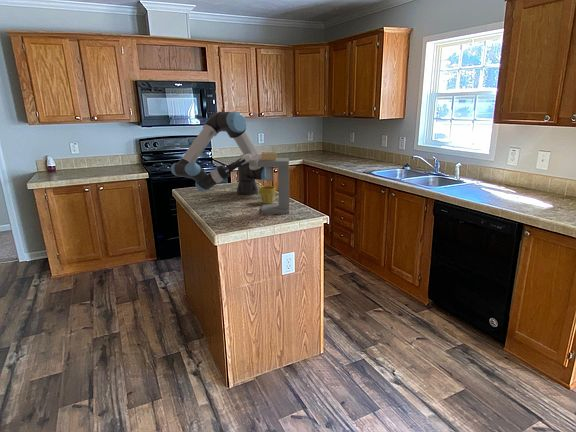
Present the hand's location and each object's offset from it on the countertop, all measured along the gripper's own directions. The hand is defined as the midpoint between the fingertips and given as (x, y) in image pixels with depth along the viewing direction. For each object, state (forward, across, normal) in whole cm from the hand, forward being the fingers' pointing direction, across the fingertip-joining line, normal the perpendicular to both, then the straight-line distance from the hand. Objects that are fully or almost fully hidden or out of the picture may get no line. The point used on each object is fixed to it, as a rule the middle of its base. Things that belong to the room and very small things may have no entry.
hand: (251, 154), depth 211 cm
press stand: (-6, 0, -34) cm, 35 cm away
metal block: (+1, 0, -4) cm, 4 cm away
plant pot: (-11, -19, -32) cm, 39 cm away
